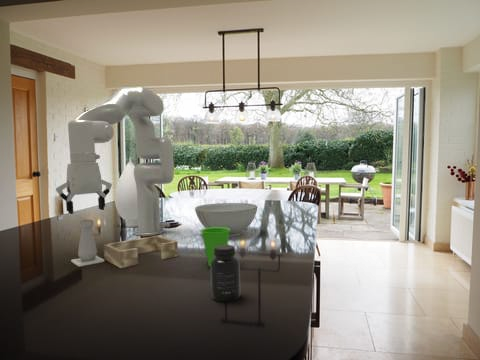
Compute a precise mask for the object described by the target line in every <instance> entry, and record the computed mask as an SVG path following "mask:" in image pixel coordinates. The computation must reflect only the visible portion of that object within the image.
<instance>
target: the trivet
mask: <svg viewBox="0 0 480 360" xmlns="http://www.w3.org/2000/svg"><path fill="white" fill-rule="evenodd" d="M70 262H72V263H73V264H74V265H76V266H77V267H83V266H90V265H94V264H95V265H96V264H99V263H103V262H105V260H104V258H102V257H99V256H98V255H96V257H95V259H94V260H91V261H82V260H81V258H80V257H79V258H74V259H71V260H70Z"/></svg>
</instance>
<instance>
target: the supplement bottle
mask: <svg viewBox="0 0 480 360" xmlns="http://www.w3.org/2000/svg"><path fill="white" fill-rule="evenodd" d="M214 256H215V258H213V259H212V261H211V267H210V285H211V286H210V287H211V289H210V292H211V298H212V299H213V300H214V301H216V302H220V303H229V302H234V301H236V300H238V299H239V298H240V297H241V274H240V273H241V269H240V266H241V264H240V260H239V258H238V257H236V250H235V246H234V245H232V244H228V245H219V246H216V247H214Z"/></svg>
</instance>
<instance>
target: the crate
mask: <svg viewBox="0 0 480 360" xmlns="http://www.w3.org/2000/svg"><path fill="white" fill-rule="evenodd" d="M178 247H179V245H178V241H177V240H173V239H170V238H167V237H164V236H161V235H152V236H145V237H142V238H135V239H130V240H129V239H128V240H122V241H118V242H117V241H116V242H110V243H105V244H103V259H104V261H106V262H109V263H110V264H112V265H114V266H115V267H118V268H120V269H123V268H127V267H128V268H129V267H133V266H138V265H139V261H138V260H139V259H138V254H144V253H149V252H155V251H158V252H160V254H161V255H160V257H161V259H162V260H166V259H171V258H175V257H179V248H178Z"/></svg>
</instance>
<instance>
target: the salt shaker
mask: <svg viewBox="0 0 480 360" xmlns="http://www.w3.org/2000/svg"><path fill="white" fill-rule="evenodd" d="M78 225H79V226H78V227H79V228H81V231H80V236H79V237H80V238H79V244H78V251H77V255H78V257H79V258H81V260H82V261H91V260H94V259H95V257H96V256H97V254H98V248H97V243H96V241H95V235H94V231H93V227H94V220H92V219H82V220H80V221H79V224H78Z"/></svg>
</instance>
